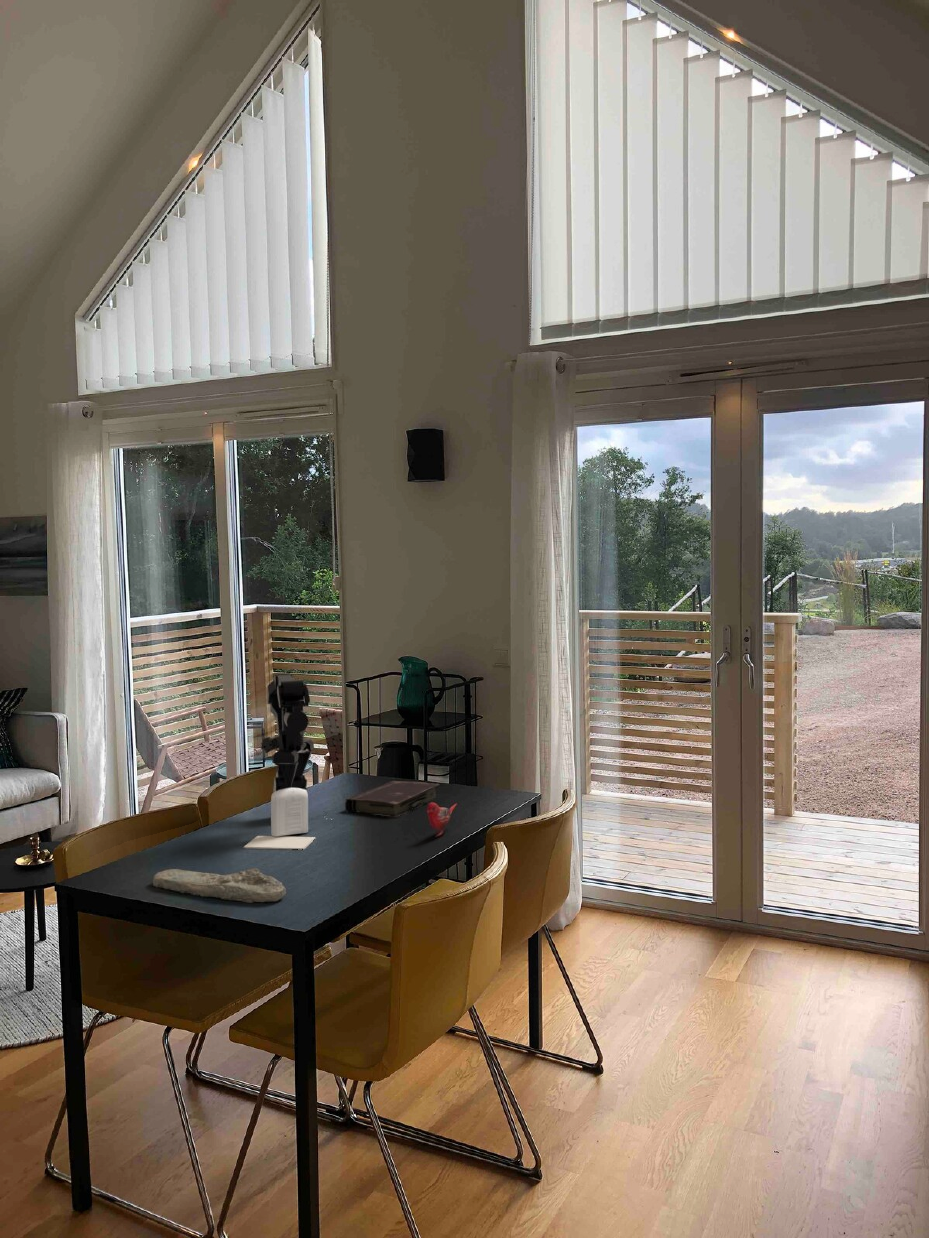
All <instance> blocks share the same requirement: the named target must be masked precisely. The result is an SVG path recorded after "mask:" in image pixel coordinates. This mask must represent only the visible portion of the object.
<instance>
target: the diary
mask: <svg viewBox="0 0 929 1238" xmlns="http://www.w3.org/2000/svg"><path fill="white" fill-rule="evenodd" d="M438 786H440V784H439V783H432V782H431V783H430V782H421V781H397V780H391V781H389V782H387V783H384V784H382V785H380V786H376V787H374V788H370V789H367V790H366V791H364V792H361V793H359V794H356V795H353V796H352V795H351V796H350V797H347V798H345V802H344V808H345V809H344V810H345V812H346V811H348V812H350V810H351V811H352V812H353V811H355V812H357V811H359V812H358V813H360V812H365V813H364V814H368V813H371V814H383V815H390V816H389V817H388V818H393V817H394V818H398V816H399V817H401V816H400V815H399V814H401V815H402V814H404V815H405V814H407V813H404V812H405V811H411V812H413V811H415V810H416V808H417V809H419V807H420V808H422V807H421V806H419V805H421V804H424V803H426V802H428V801H431V800H433V799H434V798H437V797H436V794H437V793H436V787H438ZM418 806H419V807H418ZM412 808H413V809H412ZM414 809H415V810H414ZM412 810H413V811H412ZM396 815H398V816H396ZM402 816H403V815H402Z"/></svg>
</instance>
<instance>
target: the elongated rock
mask: <svg viewBox="0 0 929 1238" xmlns="http://www.w3.org/2000/svg"><path fill="white" fill-rule="evenodd" d="M152 879H153V883H152V885H153V887H154V886H156V887H155V888H163V889H165V890H171V891H173V892H178V893H180V894H189V893H190V895H192V896H199V895H200V896H199V897H204V898H208V897H210V898H219V899H222V900H224V901H225V900H228V901H239V902H243V903H249V904H250V903H251V904H253V903H254V902H256V903H257V902H260V903H265V902H278V901H279V900H281V899H283V898H284V896H285V895H286V894H287V890H286V889H287V888H286V887H285V886H284V885H283V883H282V882H281V881H279V880H277V879H276V878H275V877H273V876H271V875H266V874H265V873H264V874H263V873H262V872H260V869H258V868H251V869H246V870H245V871H242V870H240V871H239V872H234V873H230V874H224V875H223V874H218V873H209V872H200V871H193V870H183V869H179V868H175V869H173V868H170V869H165V870H162V871H157V873H156V874H154V875H153V878H152Z"/></svg>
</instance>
